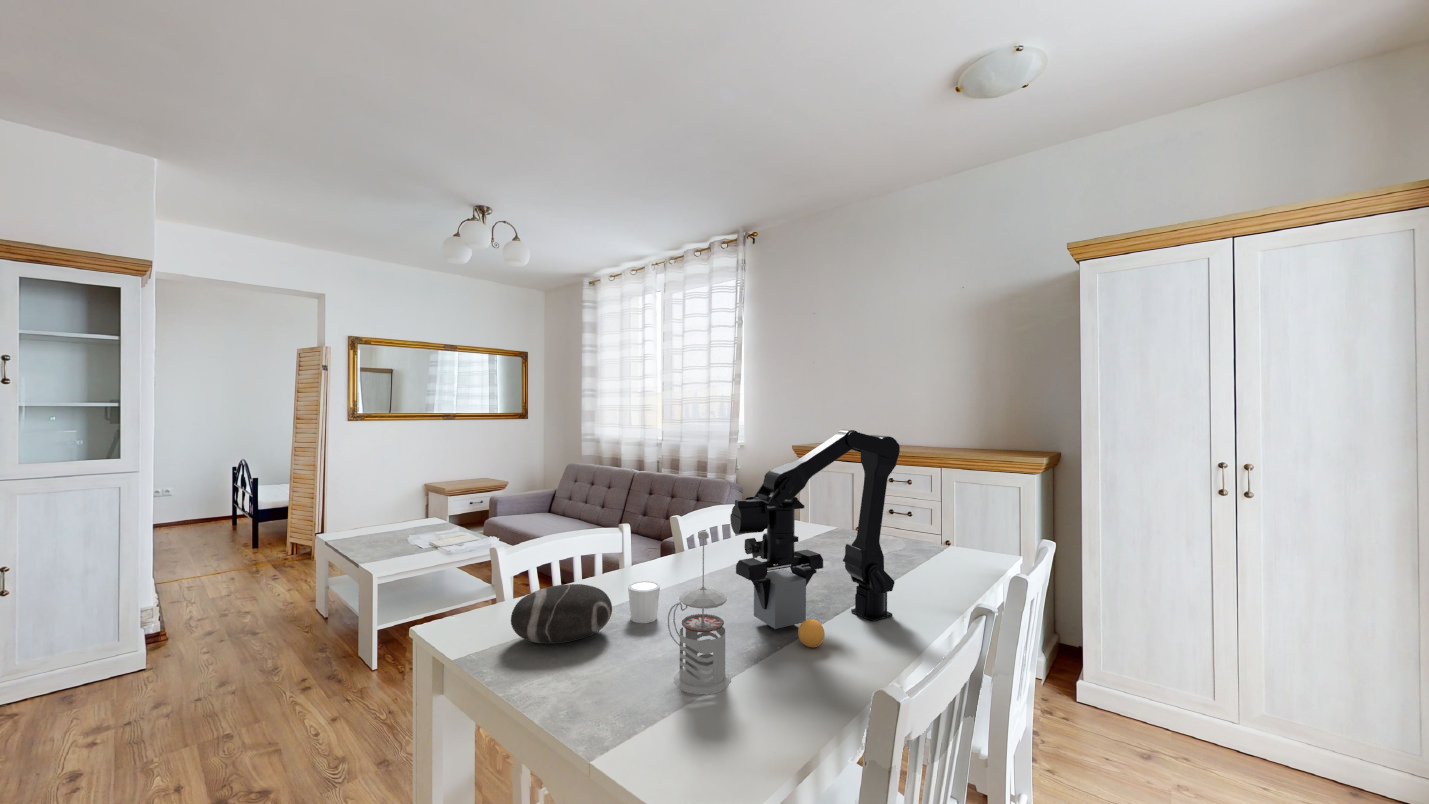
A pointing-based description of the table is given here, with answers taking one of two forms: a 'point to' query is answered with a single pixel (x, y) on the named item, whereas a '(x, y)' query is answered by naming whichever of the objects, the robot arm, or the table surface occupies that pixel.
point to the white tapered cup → (643, 601)
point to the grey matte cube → (783, 600)
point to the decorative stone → (561, 613)
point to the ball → (811, 633)
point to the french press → (701, 641)
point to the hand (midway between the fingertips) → (780, 605)
